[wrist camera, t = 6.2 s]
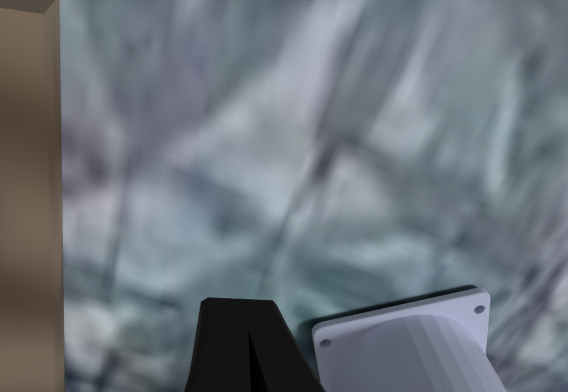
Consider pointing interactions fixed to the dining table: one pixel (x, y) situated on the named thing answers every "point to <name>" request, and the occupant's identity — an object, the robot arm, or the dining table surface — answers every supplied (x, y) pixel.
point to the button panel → (31, 199)
